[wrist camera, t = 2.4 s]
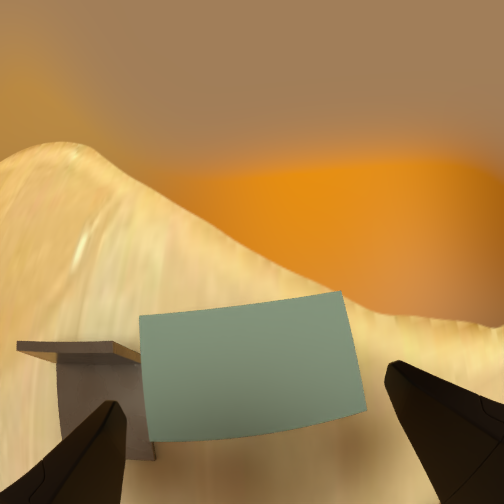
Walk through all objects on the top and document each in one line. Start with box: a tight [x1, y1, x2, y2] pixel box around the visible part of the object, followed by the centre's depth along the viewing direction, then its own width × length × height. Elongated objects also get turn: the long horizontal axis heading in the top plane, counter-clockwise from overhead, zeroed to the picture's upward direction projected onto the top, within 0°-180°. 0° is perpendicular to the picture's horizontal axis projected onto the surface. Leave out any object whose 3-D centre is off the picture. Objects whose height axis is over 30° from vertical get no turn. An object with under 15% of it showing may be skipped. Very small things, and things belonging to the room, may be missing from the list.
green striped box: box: [139, 291, 367, 442], centre depth 12 cm, size 4×6×10 cm, turn 98°
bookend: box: [16, 341, 156, 461], centre depth 13 cm, size 7×7×5 cm
